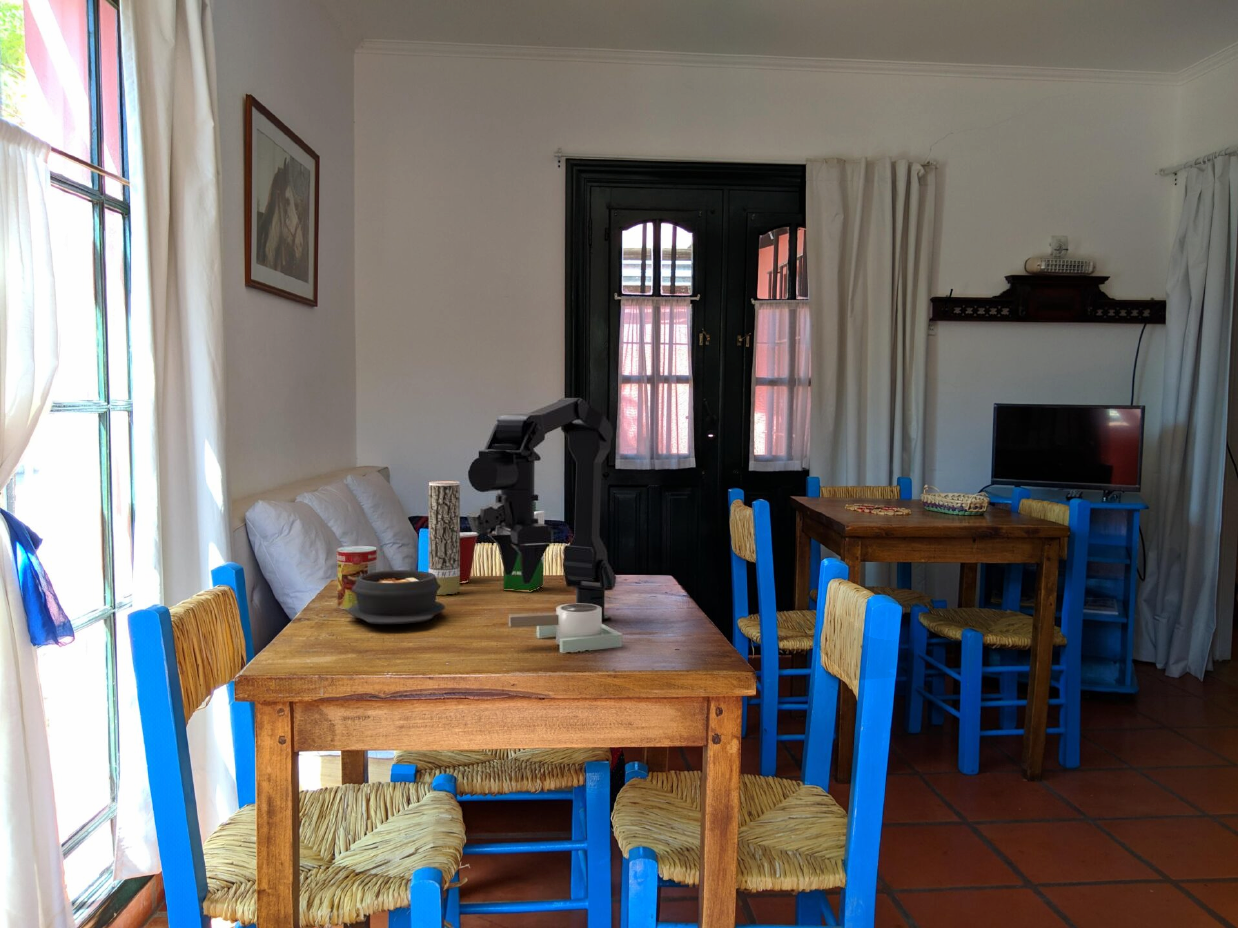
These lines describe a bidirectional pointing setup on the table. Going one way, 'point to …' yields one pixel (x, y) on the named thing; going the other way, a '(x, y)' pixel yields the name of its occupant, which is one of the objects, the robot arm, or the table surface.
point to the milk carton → (515, 578)
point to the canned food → (353, 571)
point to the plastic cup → (467, 553)
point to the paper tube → (445, 535)
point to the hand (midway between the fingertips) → (517, 578)
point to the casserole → (396, 597)
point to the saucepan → (565, 620)
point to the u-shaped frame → (584, 639)
